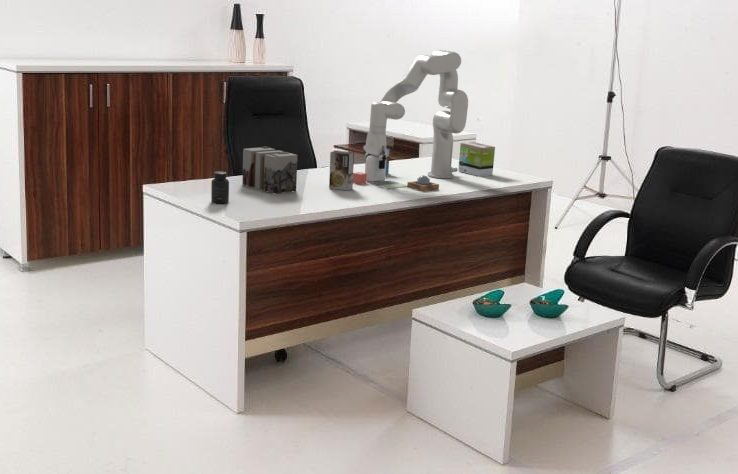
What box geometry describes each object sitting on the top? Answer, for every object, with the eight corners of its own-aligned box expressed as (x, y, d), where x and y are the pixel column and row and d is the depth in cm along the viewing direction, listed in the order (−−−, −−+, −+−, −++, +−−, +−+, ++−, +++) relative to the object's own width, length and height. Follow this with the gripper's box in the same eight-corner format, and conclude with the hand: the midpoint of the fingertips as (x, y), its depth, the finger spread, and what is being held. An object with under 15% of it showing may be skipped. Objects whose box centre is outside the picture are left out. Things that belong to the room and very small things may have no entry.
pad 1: (389, 181, 420) (390, 180, 420) (399, 183, 415) (399, 182, 415) (369, 183, 412) (370, 182, 412) (379, 185, 407) (379, 185, 407)
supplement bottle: (211, 200, 359) (212, 170, 356) (229, 201, 359) (229, 171, 356) (210, 204, 352) (210, 173, 349) (228, 204, 353) (228, 174, 350)
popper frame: (423, 185, 414) (423, 180, 414) (438, 189, 407) (439, 184, 406) (407, 187, 408) (407, 182, 407) (422, 191, 400) (422, 186, 400)
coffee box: (353, 188, 398) (355, 152, 394) (347, 191, 392) (349, 154, 388) (333, 186, 401) (335, 149, 397) (328, 188, 395) (330, 151, 391)
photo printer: (381, 179, 423) (383, 153, 420) (386, 181, 420) (388, 154, 417) (362, 180, 418) (364, 154, 415) (368, 182, 414) (369, 155, 411)
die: (358, 181, 415) (358, 171, 414) (366, 183, 412) (366, 173, 411) (352, 182, 411) (352, 172, 410) (360, 184, 409) (360, 174, 408)
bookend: (266, 181, 403) (267, 145, 399) (300, 191, 385) (302, 154, 381) (236, 184, 393) (237, 147, 389) (270, 195, 375) (271, 156, 371)
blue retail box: (384, 172, 442) (385, 147, 439) (388, 173, 439) (390, 148, 435) (368, 173, 437) (370, 147, 434) (372, 174, 434) (374, 149, 431)
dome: (423, 185, 411) (424, 174, 410) (431, 187, 407) (432, 176, 405) (414, 186, 407) (415, 174, 406) (422, 188, 403) (423, 177, 402)
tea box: (457, 171, 455) (459, 142, 452) (471, 170, 462) (473, 141, 458) (479, 177, 444) (482, 147, 441) (493, 175, 451) (495, 146, 447)
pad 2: (399, 184, 414) (400, 183, 414) (409, 186, 410) (409, 185, 410) (379, 186, 407) (379, 185, 407) (389, 188, 402) (389, 187, 402)
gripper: (359, 127, 417) (356, 164, 421) (383, 132, 404) (380, 170, 408) (371, 127, 422) (369, 163, 426) (396, 132, 409) (393, 169, 413)
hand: (374, 166), depth 417 cm, fingers open, 9 cm apart
